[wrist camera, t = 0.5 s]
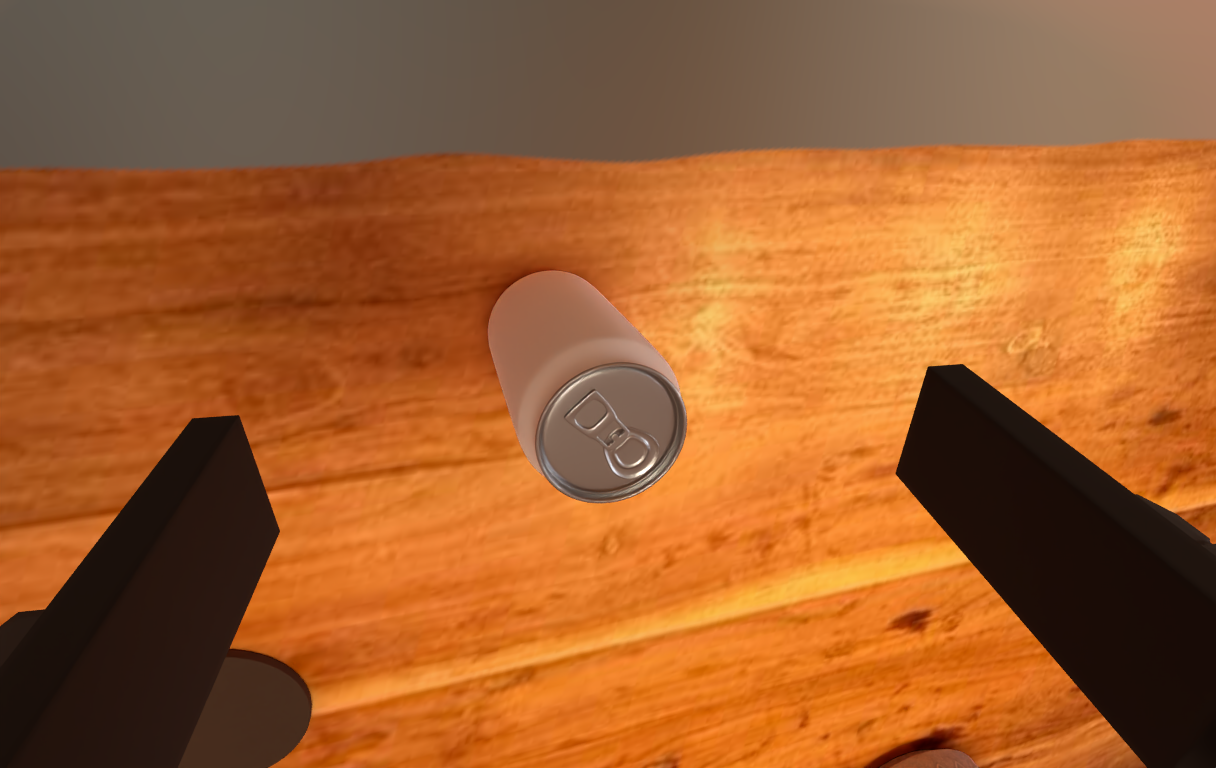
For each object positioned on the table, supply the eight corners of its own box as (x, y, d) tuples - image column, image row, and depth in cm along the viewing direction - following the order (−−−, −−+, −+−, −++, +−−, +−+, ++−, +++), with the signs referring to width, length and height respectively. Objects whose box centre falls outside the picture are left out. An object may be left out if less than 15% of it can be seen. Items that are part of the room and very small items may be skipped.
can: (545, 407, 34) (603, 542, 24) (459, 329, 31) (482, 444, 21) (631, 328, 34) (730, 429, 23) (553, 240, 31) (626, 312, 20)
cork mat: (70, 707, 34) (65, 716, 33) (245, 621, 35) (243, 629, 34) (193, 798, 38) (190, 808, 38) (344, 720, 39) (343, 729, 39)
